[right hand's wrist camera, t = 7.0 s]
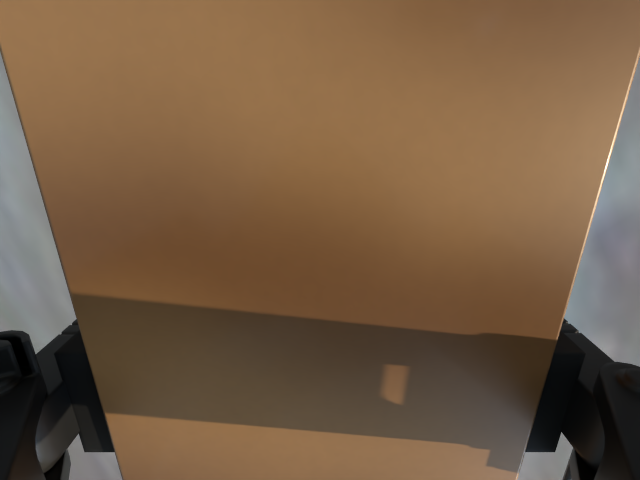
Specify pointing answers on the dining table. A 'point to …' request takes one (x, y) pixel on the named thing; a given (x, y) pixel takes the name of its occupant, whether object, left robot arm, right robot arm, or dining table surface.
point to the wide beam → (320, 219)
